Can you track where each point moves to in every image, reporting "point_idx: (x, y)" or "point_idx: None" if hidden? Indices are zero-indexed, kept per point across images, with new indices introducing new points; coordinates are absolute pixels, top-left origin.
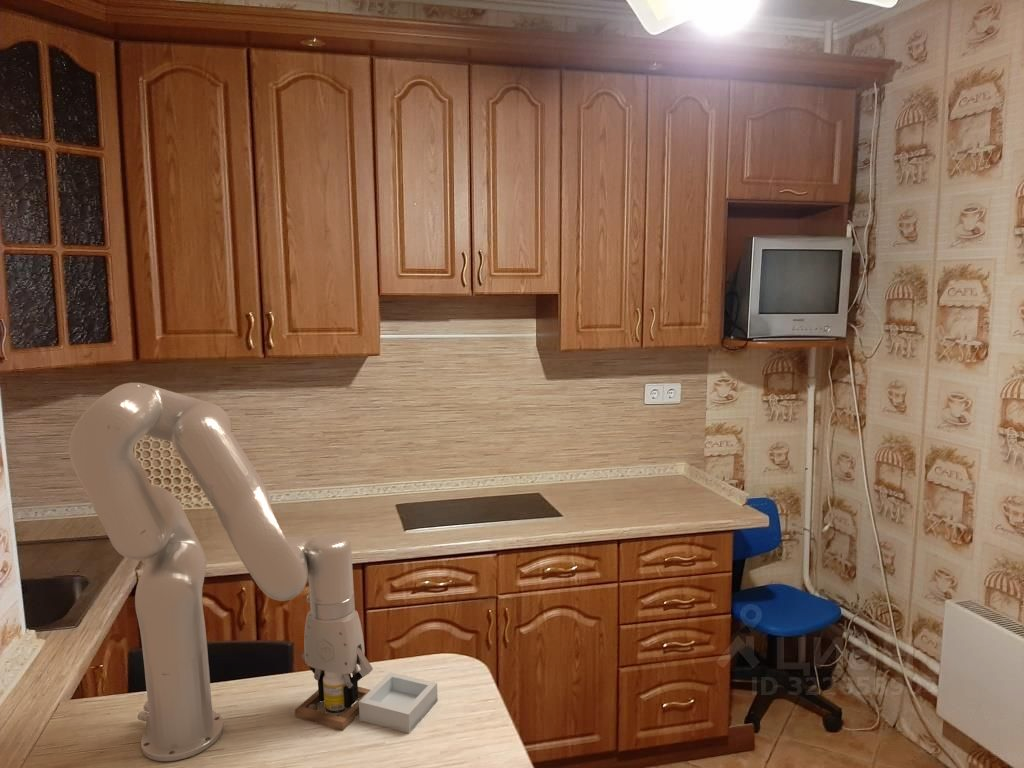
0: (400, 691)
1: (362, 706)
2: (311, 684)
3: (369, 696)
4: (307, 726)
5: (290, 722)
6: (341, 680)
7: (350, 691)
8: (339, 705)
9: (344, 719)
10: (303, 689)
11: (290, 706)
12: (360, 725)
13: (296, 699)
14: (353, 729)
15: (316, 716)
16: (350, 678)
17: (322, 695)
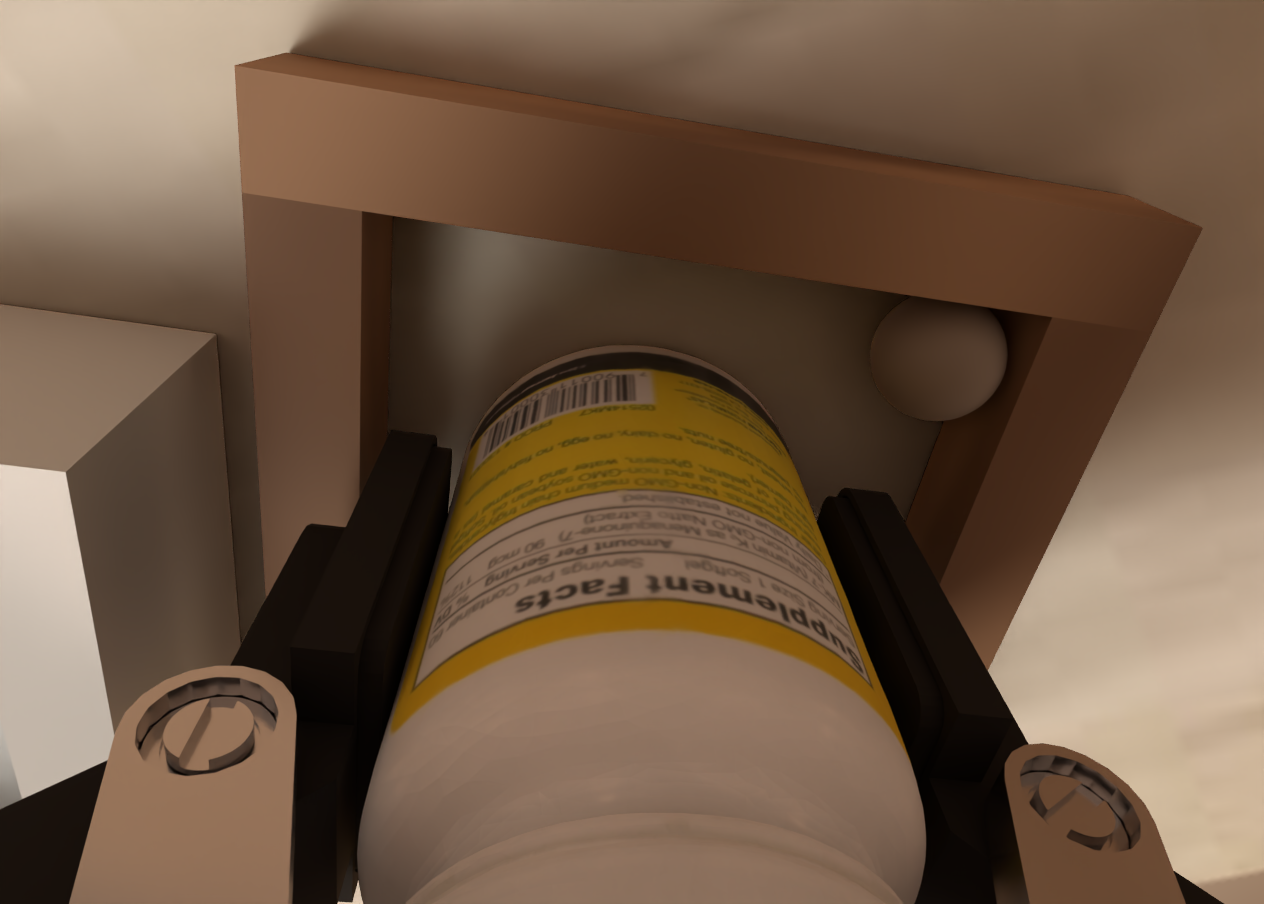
0: None
1: (26, 422)
2: (1101, 758)
3: (8, 623)
4: (875, 27)
5: (1173, 64)
6: (408, 798)
7: (294, 633)
8: (512, 432)
9: (257, 156)
10: (1168, 682)
11: (1255, 396)
12: (128, 231)
13: (1207, 526)
14: (157, 120)
15: (782, 155)
16: (82, 883)
17: (852, 543)
